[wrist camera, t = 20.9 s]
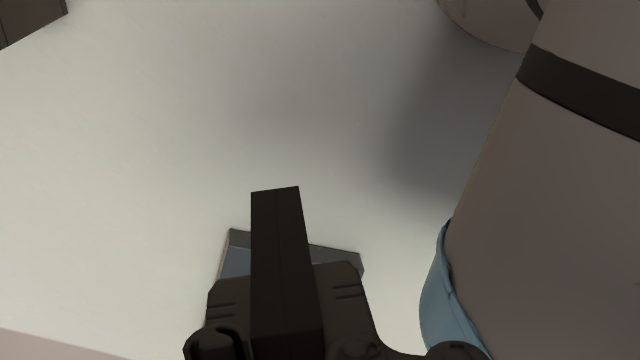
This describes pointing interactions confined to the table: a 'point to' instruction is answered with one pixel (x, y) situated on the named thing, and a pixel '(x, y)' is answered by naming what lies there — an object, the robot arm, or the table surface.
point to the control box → (240, 253)
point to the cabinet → (27, 17)
